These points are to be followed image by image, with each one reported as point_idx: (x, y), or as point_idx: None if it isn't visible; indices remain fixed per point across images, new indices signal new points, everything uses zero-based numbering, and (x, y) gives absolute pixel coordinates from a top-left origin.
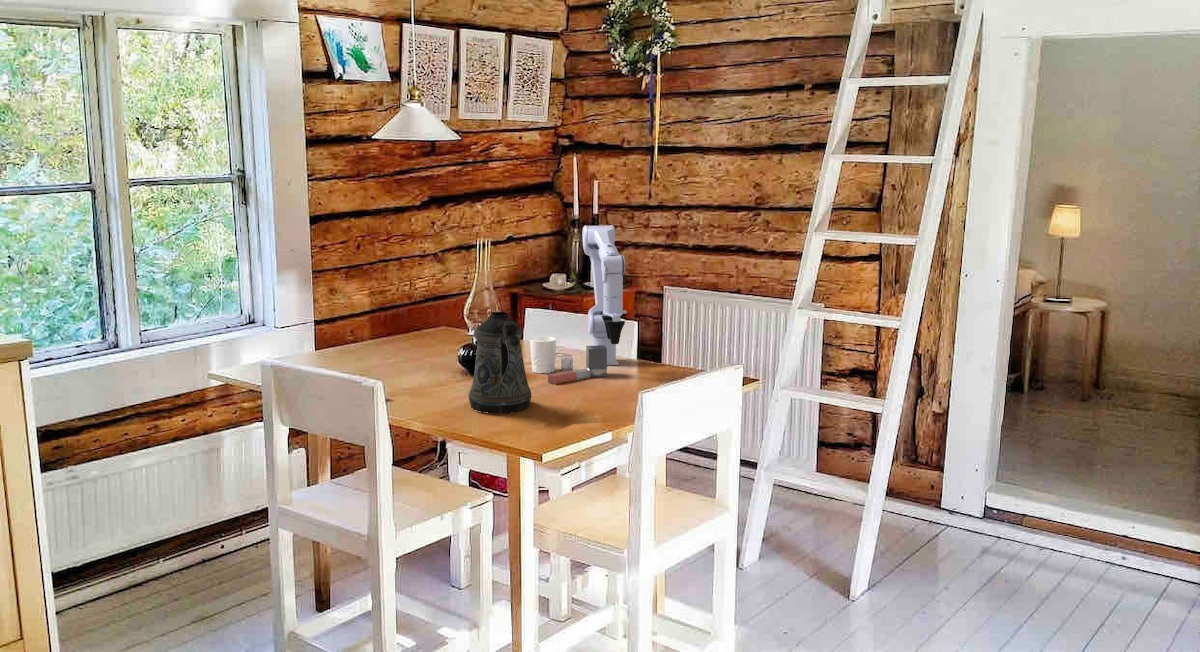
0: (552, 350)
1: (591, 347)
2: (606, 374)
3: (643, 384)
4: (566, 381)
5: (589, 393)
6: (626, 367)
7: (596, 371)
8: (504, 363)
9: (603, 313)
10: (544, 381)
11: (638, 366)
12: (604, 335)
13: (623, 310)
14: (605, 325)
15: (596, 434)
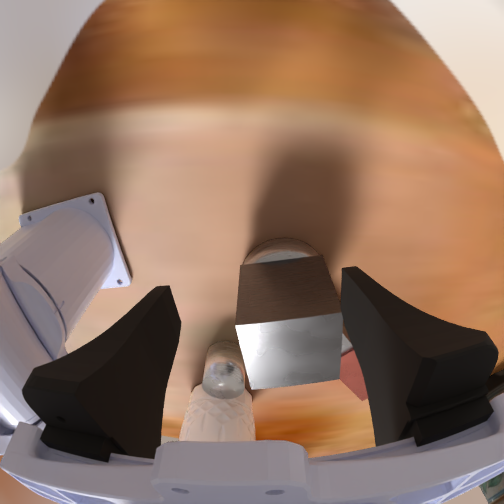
0: (240, 440)
1: (294, 372)
2: (297, 242)
3: (445, 110)
4: None
5: (489, 286)
6: (133, 157)
7: None
8: None
9: None
10: (341, 390)
11: (112, 107)
12: (51, 321)
13: (197, 500)
14: (161, 409)
15: None
